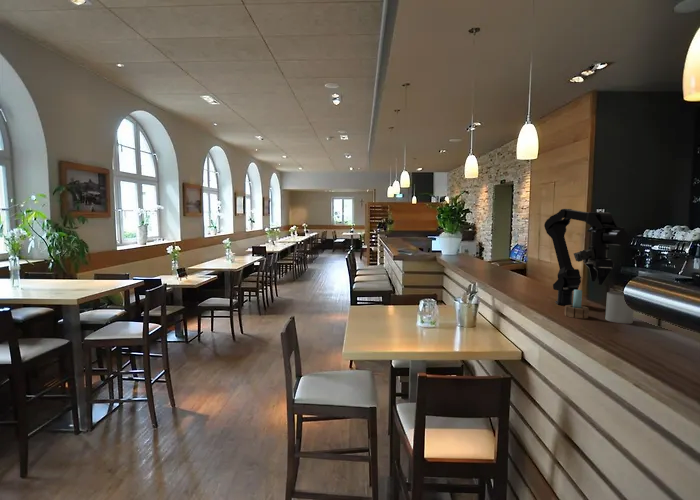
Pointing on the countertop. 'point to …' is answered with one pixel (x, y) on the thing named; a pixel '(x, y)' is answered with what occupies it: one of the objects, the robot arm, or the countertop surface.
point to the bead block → (576, 312)
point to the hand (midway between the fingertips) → (596, 282)
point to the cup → (618, 308)
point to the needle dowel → (577, 298)
